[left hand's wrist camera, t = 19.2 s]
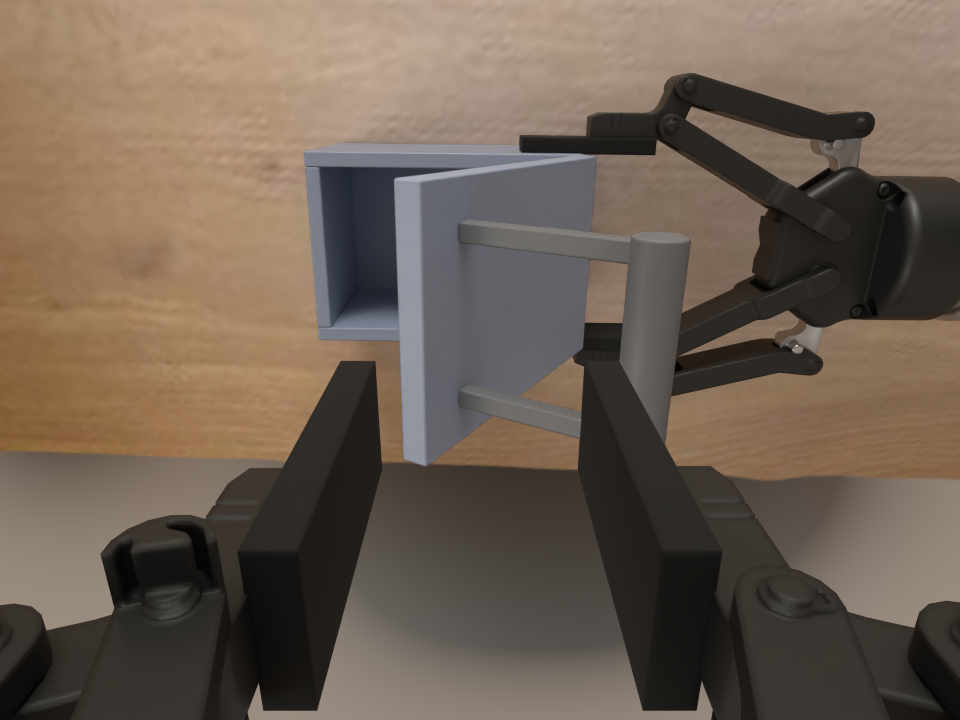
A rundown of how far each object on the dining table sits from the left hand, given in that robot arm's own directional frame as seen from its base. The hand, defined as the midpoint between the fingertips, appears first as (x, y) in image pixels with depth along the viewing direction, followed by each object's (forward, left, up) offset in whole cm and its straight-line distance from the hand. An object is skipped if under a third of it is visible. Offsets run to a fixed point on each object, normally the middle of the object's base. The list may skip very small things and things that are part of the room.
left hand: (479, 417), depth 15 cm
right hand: (+2, 0, -22) cm, 22 cm away
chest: (-2, -1, -28) cm, 28 cm away
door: (+1, 0, -13) cm, 13 cm away
